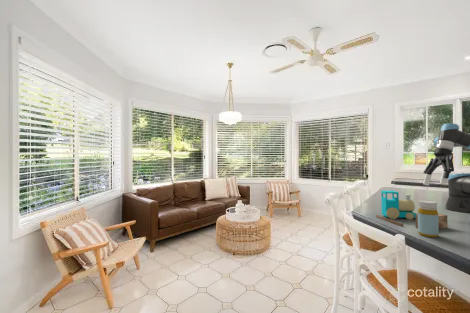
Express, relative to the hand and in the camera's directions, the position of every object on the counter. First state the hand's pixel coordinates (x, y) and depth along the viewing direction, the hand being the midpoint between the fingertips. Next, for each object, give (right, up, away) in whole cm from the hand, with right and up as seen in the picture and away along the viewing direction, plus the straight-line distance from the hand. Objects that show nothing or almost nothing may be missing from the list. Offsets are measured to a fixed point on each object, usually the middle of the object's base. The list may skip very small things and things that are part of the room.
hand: (433, 184), depth 130 cm
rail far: (-29, -19, -6) cm, 36 cm away
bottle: (-26, -20, -27) cm, 43 cm away
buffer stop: (-16, -19, -17) cm, 30 cm away
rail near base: (-6, -19, -3) cm, 20 cm away
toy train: (-18, -19, +2) cm, 26 cm away
